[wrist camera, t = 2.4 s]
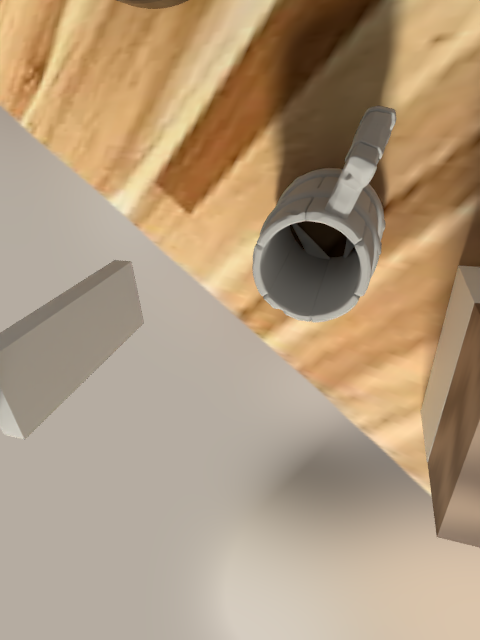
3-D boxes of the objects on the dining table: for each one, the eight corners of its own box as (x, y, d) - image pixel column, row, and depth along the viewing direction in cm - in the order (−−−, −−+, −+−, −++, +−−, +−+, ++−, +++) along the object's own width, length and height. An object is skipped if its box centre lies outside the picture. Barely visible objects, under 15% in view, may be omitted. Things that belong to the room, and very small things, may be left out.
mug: (264, 244, 31) (209, 317, 21) (327, 79, 24) (291, 74, 14) (352, 283, 30) (338, 376, 20) (442, 125, 23) (487, 153, 14)
